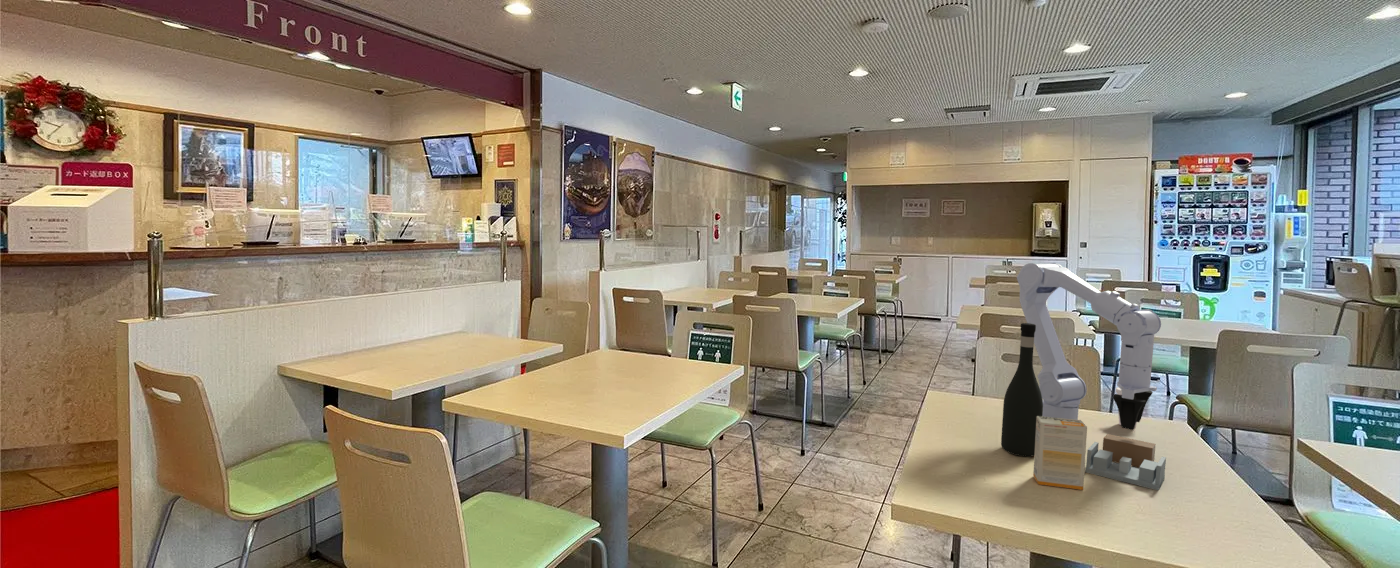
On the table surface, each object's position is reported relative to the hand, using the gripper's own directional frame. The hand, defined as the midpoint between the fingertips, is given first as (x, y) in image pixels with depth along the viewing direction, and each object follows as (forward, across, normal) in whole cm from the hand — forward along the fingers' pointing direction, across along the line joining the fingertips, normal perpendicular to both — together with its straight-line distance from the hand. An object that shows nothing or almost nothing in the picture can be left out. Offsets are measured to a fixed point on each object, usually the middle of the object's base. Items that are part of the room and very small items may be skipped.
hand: (1130, 424), depth 135 cm
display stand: (+8, -10, -1) cm, 13 cm away
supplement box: (+9, -25, +8) cm, 28 cm away
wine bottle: (+9, -11, +19) cm, 24 cm away
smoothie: (+9, +32, +5) cm, 34 cm away
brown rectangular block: (+9, 0, 0) cm, 9 cm away
